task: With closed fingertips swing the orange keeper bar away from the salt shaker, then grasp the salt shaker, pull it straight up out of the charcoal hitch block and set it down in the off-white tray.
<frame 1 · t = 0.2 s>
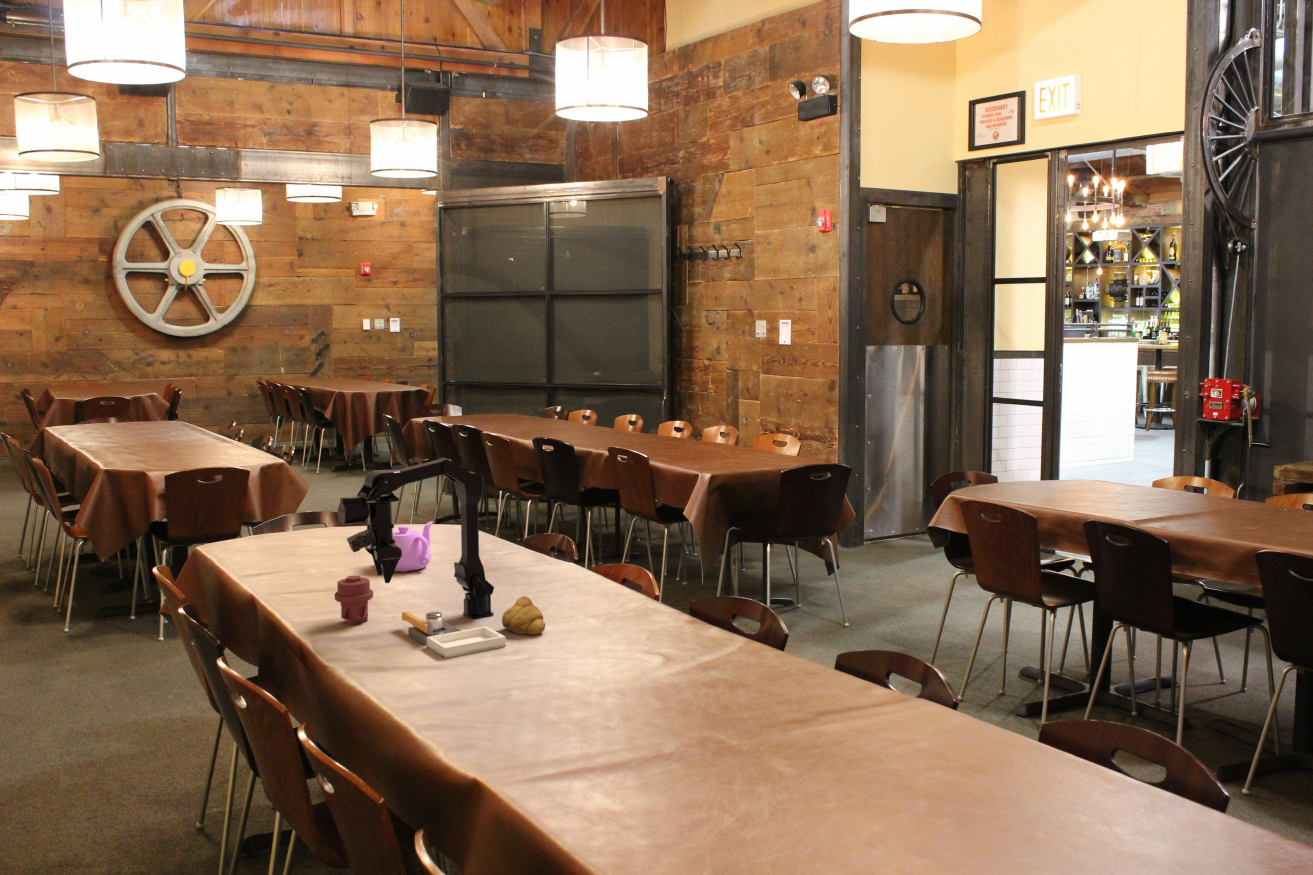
hand: (383, 579, 279), 14 cm above the table, fingers open, 9 cm apart
bread roll: (524, 632, 280), on the table
salt shaker: (434, 625, 275), in the hitch block
tray: (466, 646, 267), on the table
teapot: (409, 567, 353), on the table
mechanical component: (355, 622, 289), on the table
keeper: (417, 620, 276), point 4 cm above the table, hinge at 0.0°
hitch block: (434, 636, 275), on the table
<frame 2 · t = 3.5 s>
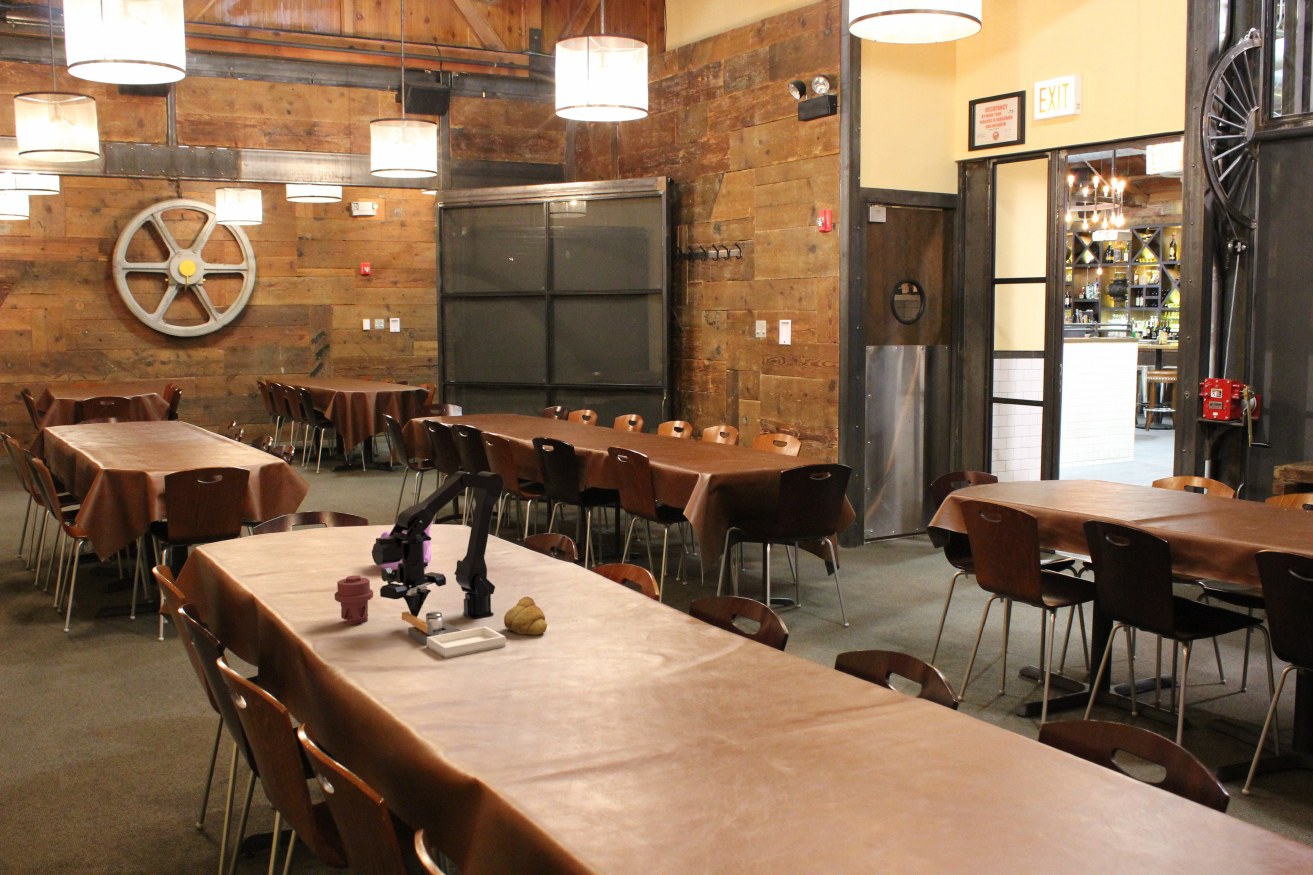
hand: (414, 617, 282), 3 cm above the table, fingers closed
keeper: (417, 620, 276), point 4 cm above the table, hinge at 0.1°, touching gripper
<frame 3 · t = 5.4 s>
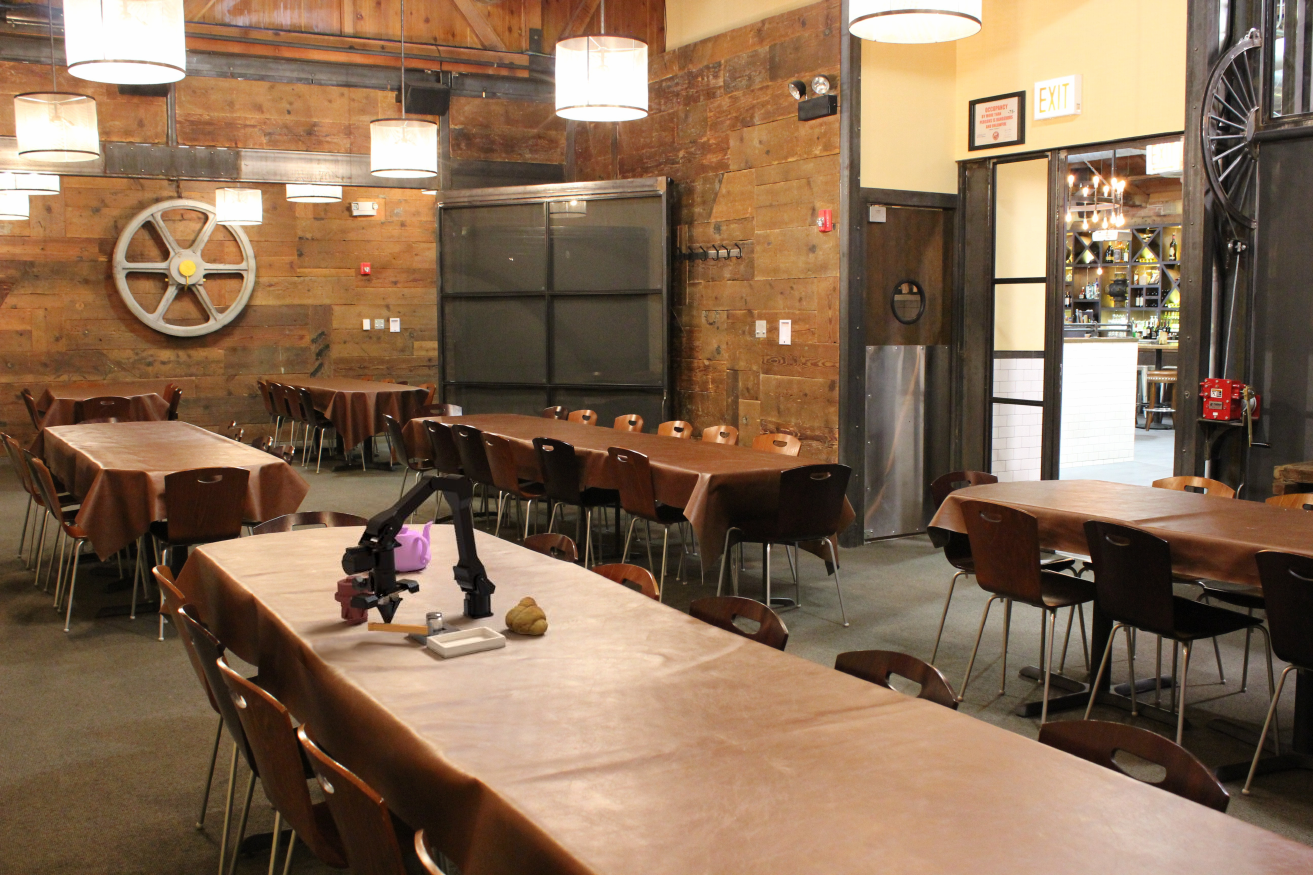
hand: (387, 626, 274), 3 cm above the table, fingers closed
keeper: (400, 625, 271), point 4 cm above the table, hinge at 42.2°, touching gripper
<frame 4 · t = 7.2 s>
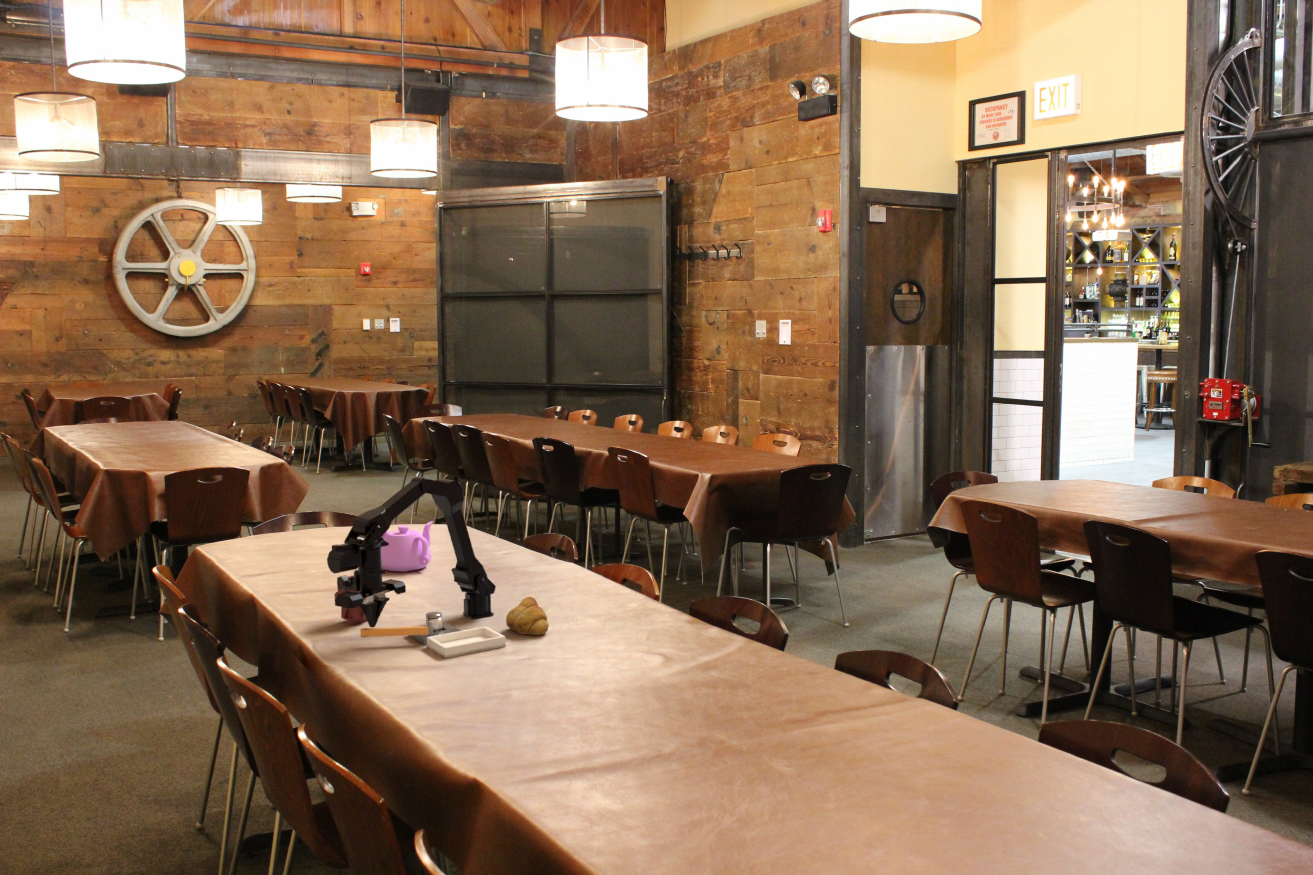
hand: (372, 626, 269), 4 cm above the table, fingers closed
keeper: (396, 629, 269), point 4 cm above the table, hinge at 62.1°
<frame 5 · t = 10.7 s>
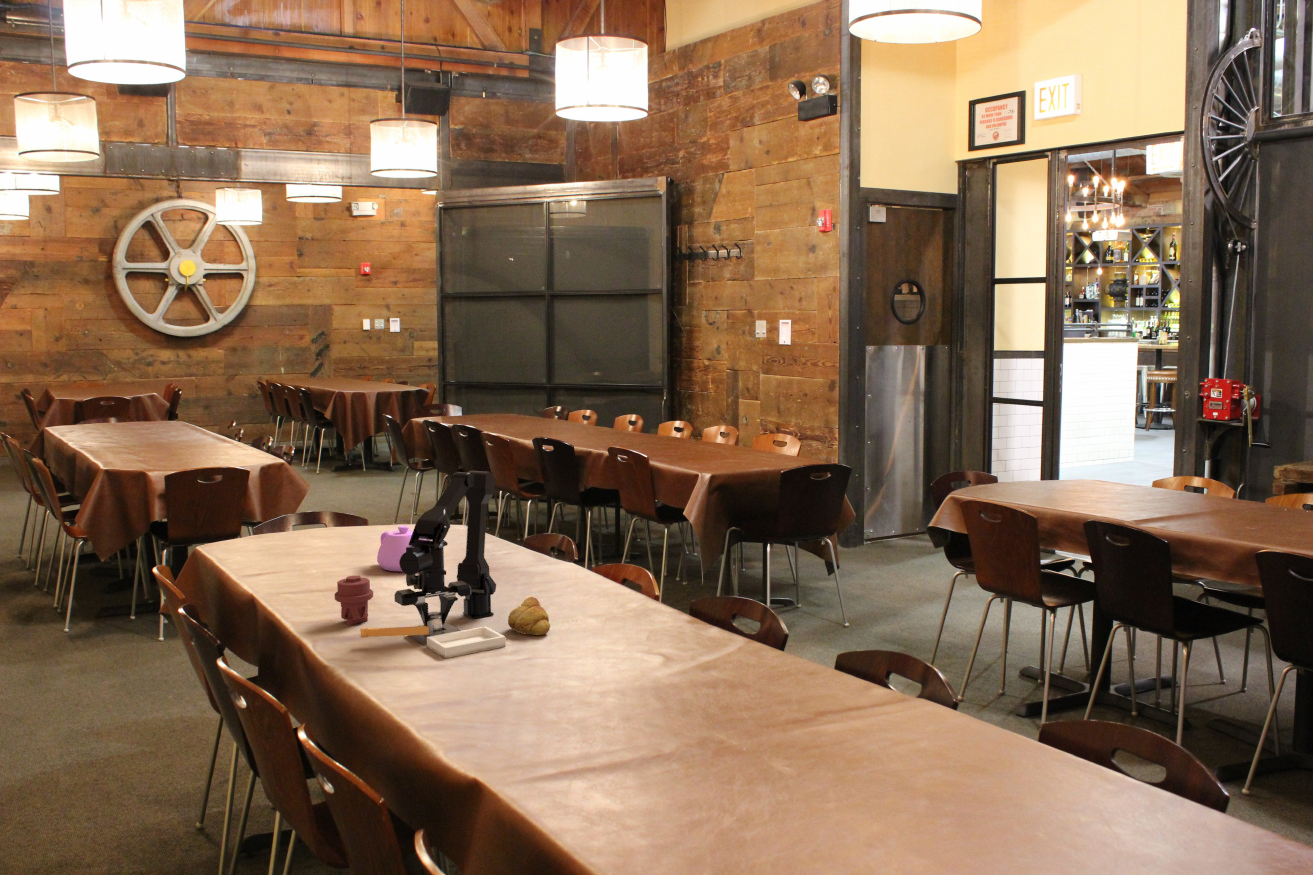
hand: (434, 625, 275), 3 cm above the table, fingers closed on salt shaker, 4 cm apart
salt shaker: (434, 625, 275), in the hitch block, touching gripper
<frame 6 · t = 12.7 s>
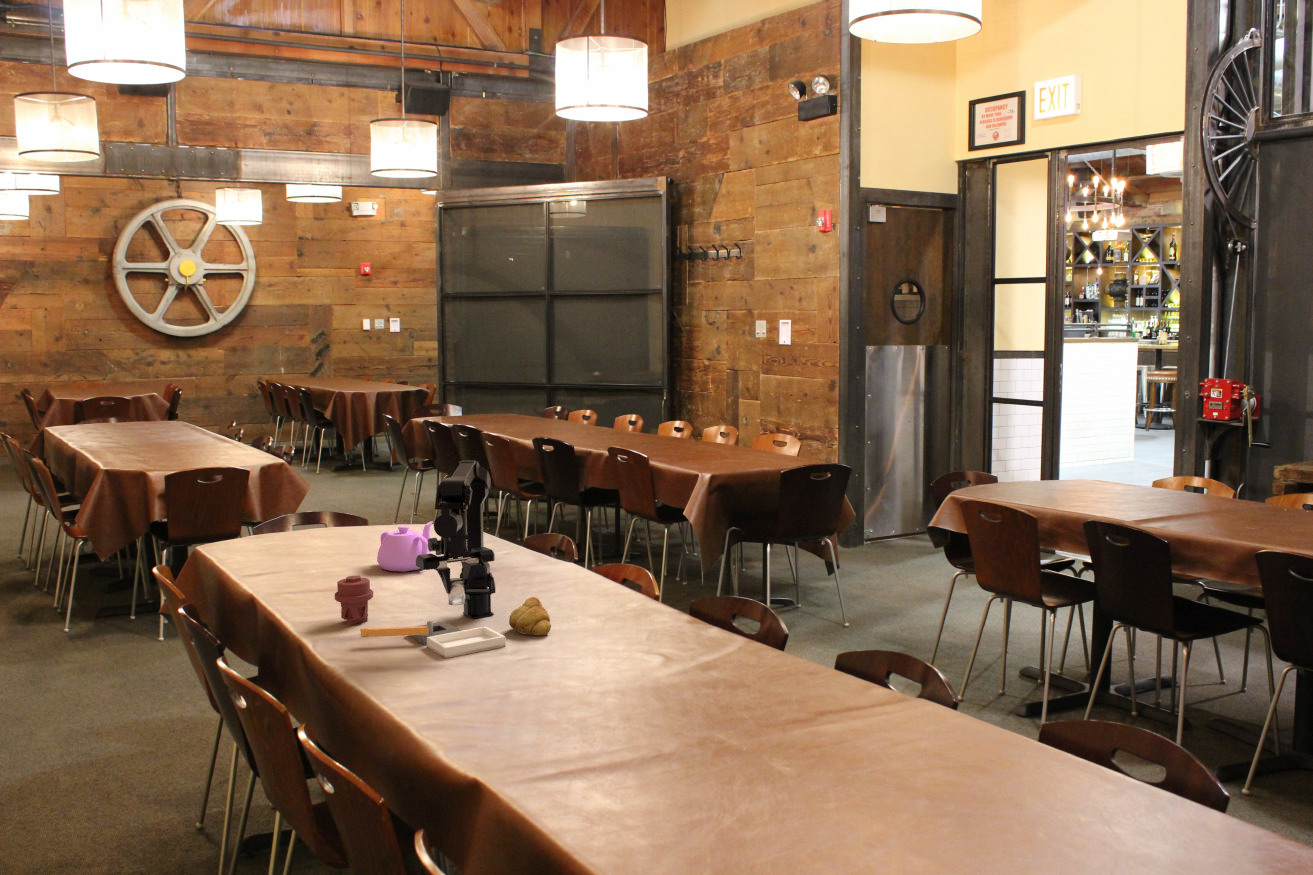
hand: (456, 592, 267), 13 cm above the table, fingers closed on salt shaker, 4 cm apart
salt shaker: (456, 591, 267), point 14 cm above the table, touching gripper
when the fingers open (5 cm above the table, at t = 14.8 s): salt shaker drops 1 cm, resting on tray.
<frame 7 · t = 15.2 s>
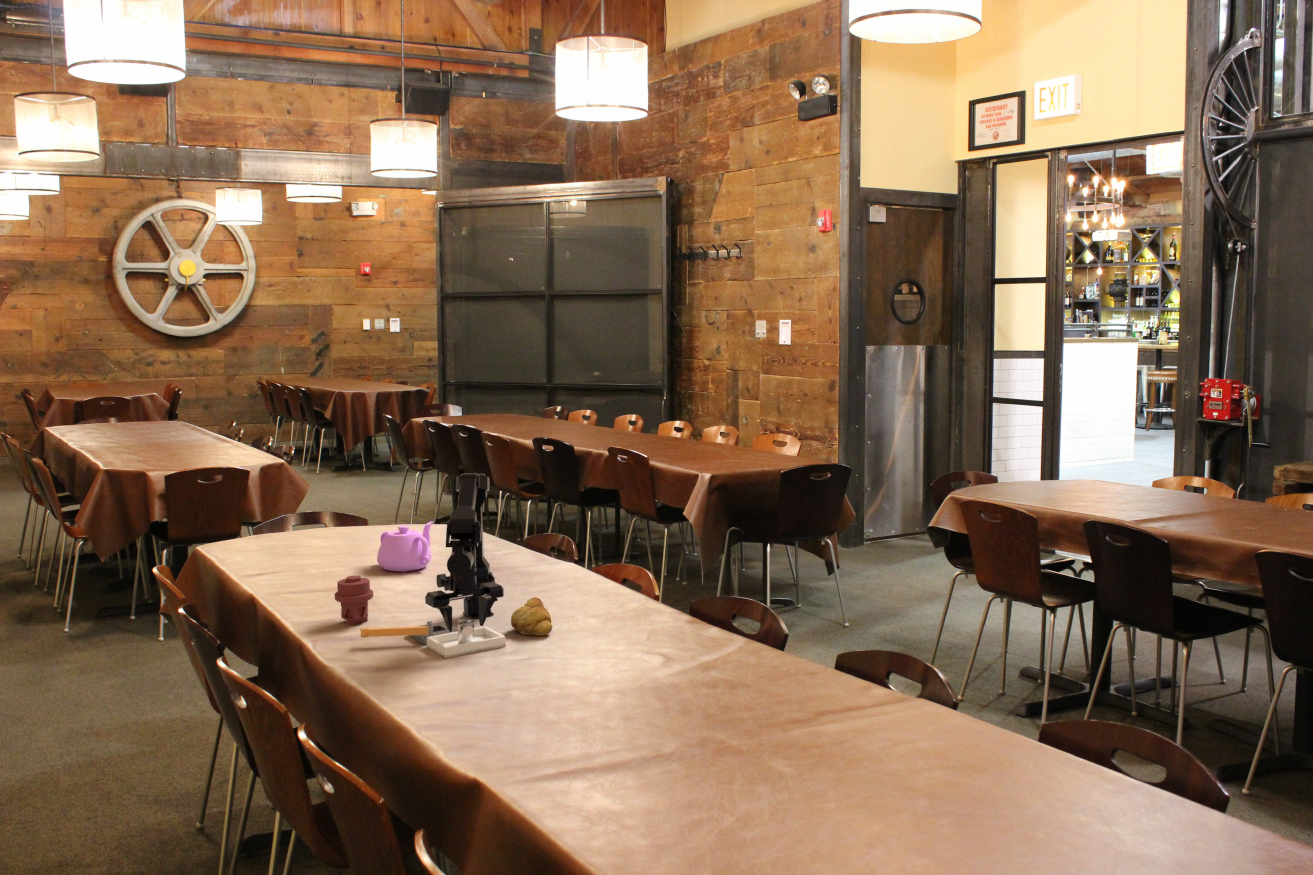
hand: (465, 628, 267), 5 cm above the table, fingers open, 8 cm apart
salt shaker: (466, 632, 267), in the tray, point 4 cm above the table
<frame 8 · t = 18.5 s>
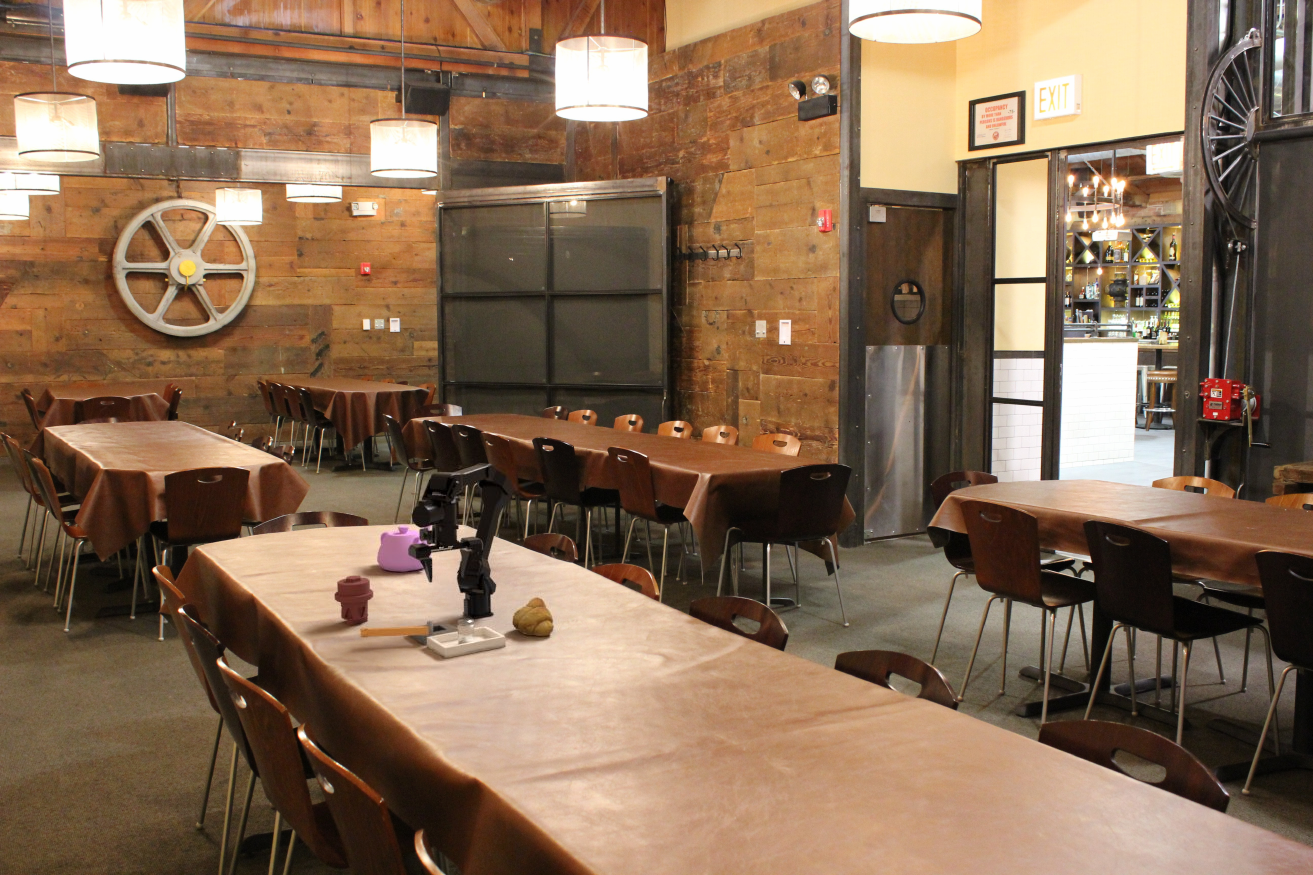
hand: (446, 579, 281), 13 cm above the table, fingers open, 9 cm apart
at the end: salt shaker inside the target area on the tray (0.1 cm from its centre), point 3.6 cm above the tray's base; keeper at +62° (first picture: +0°); the gripper is holding nothing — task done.
